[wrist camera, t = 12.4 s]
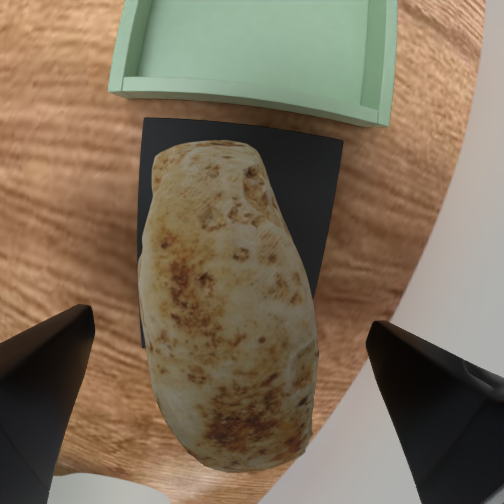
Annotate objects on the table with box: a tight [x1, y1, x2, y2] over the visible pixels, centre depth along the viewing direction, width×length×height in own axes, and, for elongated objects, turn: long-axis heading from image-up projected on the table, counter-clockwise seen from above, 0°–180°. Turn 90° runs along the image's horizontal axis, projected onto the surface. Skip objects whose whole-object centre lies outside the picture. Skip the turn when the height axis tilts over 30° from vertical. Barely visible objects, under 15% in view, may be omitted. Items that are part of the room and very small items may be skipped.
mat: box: [137, 118, 343, 348], centre depth 15 cm, size 9×12×1 cm
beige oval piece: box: [138, 140, 319, 473], centre depth 10 cm, size 10×4×10 cm, turn 9°
